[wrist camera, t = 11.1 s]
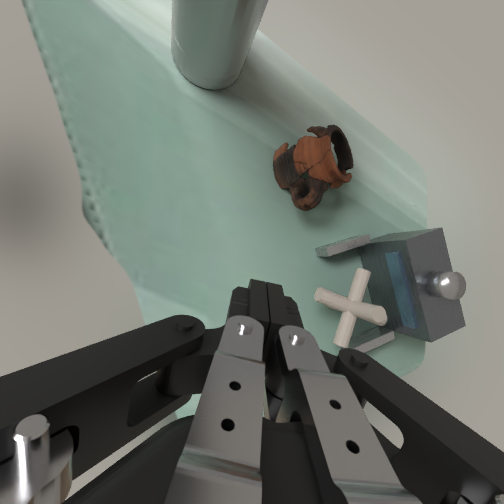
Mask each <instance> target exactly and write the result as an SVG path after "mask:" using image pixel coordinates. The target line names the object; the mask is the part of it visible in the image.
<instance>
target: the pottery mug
mask: <svg viewBox="0 0 504 504" xmlns="http://www.w3.org/2000/svg"><path fill="white" fill-rule="evenodd" d="M327 127H328V128H325V127H320V126H318V127H313V126H312V127H310V128H308V129H307V132H313V133H314V134H315V135H317V137H318V138H317V137H312V136H304V137H302V138H300V139H299V140H298V142H297V145H293V146H292V147H290V149H288V150H287V148H288V143H285V144H283V145H282V146H281V147H280V148H279V149H278V150H276V152H275V154H274V160H273V170H274V174H275V178H276V181H277V182H278V184H279V186H280V188H281V189H284V188H290V193H291V197H292V201H293V204H294V205H295V206H296V207H297V208H299V209H301V210H304V211H306V210H310V209H313V208H315V207H316V206H317V205H318V204H319V203H320V201H321V199H322V196H323V193H324V192H325V191H326V190H327V189H328V185H327V183H330V185H329V187H330V188H338V187H340V186H342V184H343V183H347V182H349V181H350V180H351V178H352V175H351V173H348V174H346V170H348V169H351V168H353V158H352V153H351V149H350V146H349V144H348V141H347V139H346V137H345V135H344V133H343V132H342V130H341V129H340V128H339V127H337V126H336V125H328V126H327ZM331 142H332V144H333V145H334V150H335V153H336V156H337V159H338V167H337V165H336V163H335V160H334V157H333V153H332V151H331ZM305 172H307V173H308V176H309V178H307V179H304V178H302V175H303V174H305Z"/></svg>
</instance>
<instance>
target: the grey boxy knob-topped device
mask: <svg viewBox="0 0 504 504" xmlns="http://www.w3.org/2000/svg"><path fill="white" fill-rule="evenodd" d="M356 247H358V249H359V253H360V257H361V261H362V265H363V269H365V270H368V271H370V272H371V275H370V278H369V281H368V284H367V285H368V289H369V292H370V296H371V300H372V304H373V305H377V306H382V307H383V308H384V309H385V311H386V315H387V322H386V324H385V325H383V326H379V325H378V326H377V327H375V328H373V329H370V330H368V331H366V332H363V333H361V334H359V335H356V336H354V337H352V338H350V342H349V345H348V348H352V349H356V350H359V351H361V352H363V353H365V352H367V351H370V350H372V349H374V348H376V347H378V346H380V345H383V344H385V343H387V342H389V341H391V340H394V339H395V336H394V332H393V331H395V332H399V333H402V334H405V335H408V336H411V337H415V338H418V339H421V340H424V341H428V342H433V341H435V340H437V339H439V338H441V337H443V336H445V335H447V334H449V333H452V332H454V331H456V330H458V329H460V328H462V327H464V326H465V321H464V317H463V313H462V308H461V304H460V300H459V299H460V298H461V297H462V296H463V295H464V293H465V290H466V282H465V279H464V277H463V276H462V275H461V274H460V273H458V272H453V271H452V267H451V262H450V258H449V254H448V250H447V246H446V242H445V238H444V233H443V229H442V228H435V229H427V230H419V231H410V232H402V233H394V234H387V235H384V236H381V237H378V238H375V239H372V240H370V237H369V235H362V236H355V237H352V238H348V239H345V240H342V241H338V242H335V243H332V244H329V245H325V246H322V247H319V248H316V253H317V257H321V256H331V255H334V254H338V253H341V252H344V251H347V250H350V249H353V248H356ZM341 348H342V349H344V347H342V346H341Z"/></svg>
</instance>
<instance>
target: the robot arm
mask: <svg viewBox="0 0 504 504" xmlns="http://www.w3.org/2000/svg"><path fill="white" fill-rule="evenodd" d="M267 2H268V0H172V36H171V47H172V55H173V59H174V62H175V64H176V66H177V68H178V69H179V70H180V72H181V73H182V74H183V75H184V76H185V77H186V78H187V79H188V80H189V81H190V82H192V83H194V84H195V85H197V86H200V87H202V88H206V89H210V90H218V89H222V88H226V87H228V86H230V85H231V84H232V83H234V82H235V81H236V79H237V78H238V77H239V75H240V72H241V70H242V67H243V65H244V62H245V59H246V57H247V54H248V52H249V50H250V47H251V44H252V42H253V39H254V36H255V34H256V31H257V29H258V26H259V23H260V21H261V18H262V16H263V13H264V10H265V7H266V5H267ZM155 371H157V372H156V373H155V374H152V375H150V376H149V377H147V378H145V379H143V380H141V381H139V380H140V379H142V378H143V377H145V376H147V375H149V374H151V373H153V372H155ZM264 378H265V380H264ZM138 381H139V382H138ZM200 393H202V394H201V397H200V400H199V403H198V407H197V410H196V413H195V415H191V416H187V417H183V418H180V419H178V420H175V421H173V422H171V423H169V424H168V425H166V426H164V427H163V428H161V429H160V430H158V431H157V432H156V433H154V434H153V435H152V436H150V437H149V438H148V439H147V440H145V441H144V442H143V443H141V444H140V445H138V446H137V447H136V448H134V449H133V450H132V451H130V452H129V453H128V454H127V455H125V456H124V457H122V458H121V459H120V460H118V461H117V462H116V463H115V464H113V465H112V466H111V467H109V468H108V469H107V470H105V471H104V472H103V473H101V474H100V475H99V476H97V477H96V478H95V479H93V480H92V481H91V482H89V483H88V484H87V485H85V486H84V487H83V488H81V489H80V490H79V491H77V492H76V493H75V494H74V495H72V496H71V497H69V498H68V499H67V500H65V499H66V497H67V495H68V493H69V491H70V488H71V485H72V480H74V479H76V478H77V477H78V476H80V475H81V474H83V473H84V472H86V471H87V470H89V469H90V468H92V467H93V466H95V465H96V464H98V463H99V462H101V461H102V460H104V459H105V458H107V457H108V456H109V455H111V454H112V453H114V452H115V451H117V450H118V449H120V448H121V447H123V446H124V445H126V444H127V443H128V442H130V441H131V440H133V439H134V438H136V437H137V436H139V435H140V434H142V433H143V432H145V431H146V430H148V429H149V428H151V427H152V426H154V425H155V424H157V423H158V422H159V421H161V420H162V419H163V418H165V417H167V416H168V415H170V414H171V413H173V412H174V411H176V410H177V409H179V408H180V407H182V406H183V405H184V404H186V403H187V402H188V401H189V400H190V398H191V396H192V394H200ZM367 401H368V402H369V403H371V404H372V405H373V406H374V407H375V408H377V409H378V410H379V411H380V412H381V413H382V414H384V415H385V416H386V417H387V418H388V419H390V420H391V421H392V422H393V423H394V424H396V425H397V426H398V428H399V429H400V430H401V432H402V434H403V438H404V443H403V445H402V447H401V449H399V448H397V447H396V446H395V445H394V444H392V443H391V442H390V441H389V440H388V439H387V438H386V437H385V436H384V435H382V434H381V433H380V432H379V431H378V430H377V429H376V428H375V427H374V426H372V425H371V424H370V423H369V421H368V419H367V417H366V415H365V413H364V411H363V408H364V406H365V404H366V402H367ZM263 410H264V417H262V415H263ZM0 504H504V452H502V451H501V450H500V449H498V448H497V447H495V446H494V445H493V444H491V443H490V442H488V441H487V440H486V439H484V438H483V437H481V436H480V435H479V434H477V433H476V432H474V431H473V430H472V429H470V428H469V427H468V426H466V425H465V424H463V423H462V422H461V421H459V420H458V419H456V418H455V417H453V416H452V415H451V414H449V413H448V412H447V411H445V410H444V409H442V408H441V407H439V406H438V405H437V404H435V403H434V402H433V401H431V400H430V399H428V398H427V397H425V396H424V395H423V394H421V393H420V392H418V391H417V390H416V389H414V388H413V387H412V386H410V385H409V384H407V383H406V382H405V381H403V380H402V379H400V378H399V377H398V376H396V375H395V374H393V373H392V372H391V371H389V370H388V369H386V368H385V367H384V366H382V365H381V364H379V363H378V362H377V361H375V360H374V359H372V358H371V357H370V356H368V355H367V354H365V353H363V352H361V351H359V350H356V349H352V348H344V349H341V350H340V351H339V354H338V356H334V355H332V354H330V353H327V352H325V351H322V350H321V349H319V346H318V344H317V342H316V340H315V338H314V337H313V335H312V334H311V333H309V332H308V331H306V330H305V329H304V327H303V324H302V320H301V317H300V313H299V311H298V307H297V303H296V302H295V301H294V300H293V299H292V298H291V297H287V296H284V293H283V289H282V285H278V284H274V283H269V282H264V281H259V280H254V279H250V282H249V286H248V288H243V287H239V286H238V287H237V288H235V289H234V290H233V292H232V296H231V301H230V305H229V310H228V314H227V319H226V324H225V325H224V326H222V327H220V328H216V329H205V326H204V324H203V322H202V321H200V320H199V319H197V318H195V317H193V316H189V315H175V316H171V317H168V318H166V319H163V320H160V321H157V322H154V323H151V324H149V325H146V326H143V327H140V328H137V329H135V330H132V331H129V332H126V333H123V334H120V335H118V336H115V337H112V338H109V339H107V340H103V341H101V342H98V343H95V344H92V345H89V346H86V347H84V348H81V349H78V350H76V351H72V352H70V353H67V354H64V355H61V356H59V357H55V358H53V359H50V360H47V361H44V362H41V363H38V364H36V365H33V366H30V367H27V368H24V369H21V370H19V371H16V372H13V373H10V374H7V375H4V376H2V377H0Z"/></svg>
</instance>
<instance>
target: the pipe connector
mask: <svg viewBox="0 0 504 504" xmlns="http://www.w3.org/2000/svg"><path fill="white" fill-rule="evenodd" d="M370 275H371V272H370V271H368V270H365V269H361V268H357V269H356V272H355V275H354V278H353V282H352V285H351V288H350V291H349V294H348V297H347V298H346V297H344V296H342V295H339V294H337V293H334V292H332V291H329V290H327V289H324V288H322V287H319V288H318V289H317V290H316V292H315V295H314V299H315V300H316V301H317V302H320V303H322V304H325V305H326V306H327V307H328V308H331V309H334V310H338V311H341V312H343V313H342V316H341V319H340V322H339V325H338V328H337V331H336V334H335V337H334V341H333V343H335V344H337V345H339V346H342V347H344V348H348V345H349V342H350V338H351V335H352V332H353V329H354V326H355V322H356V319H357V317H358V318H361V319H363V320H366V321H369V322H371V323H374V324H376V325H379V326H383V325H385V324H386V322H387V315H386V311H385V309H384V308H383V307H382V306H377V305H373V304H368V303H364V302H362V300H363V297H364V294H365V291H366V287H367V284H368V281H369V278H370Z"/></svg>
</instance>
